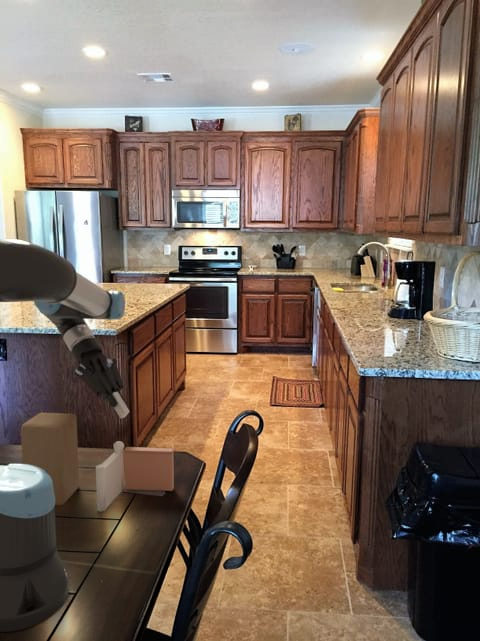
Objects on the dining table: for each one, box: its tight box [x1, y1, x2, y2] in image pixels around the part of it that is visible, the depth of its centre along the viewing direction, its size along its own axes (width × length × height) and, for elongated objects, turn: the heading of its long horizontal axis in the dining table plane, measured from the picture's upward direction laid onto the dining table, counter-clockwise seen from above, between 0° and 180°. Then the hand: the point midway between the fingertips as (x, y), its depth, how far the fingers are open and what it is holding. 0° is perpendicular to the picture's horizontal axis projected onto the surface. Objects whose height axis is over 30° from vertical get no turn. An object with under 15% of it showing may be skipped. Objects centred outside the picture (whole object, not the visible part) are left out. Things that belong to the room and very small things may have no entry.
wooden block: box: [20, 412, 80, 506], centre depth 121 cm, size 10×10×20 cm
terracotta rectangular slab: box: [123, 446, 175, 492], centre depth 125 cm, size 12×2×10 cm, turn 87°
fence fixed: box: [95, 440, 125, 512], centre depth 120 cm, size 12×3×13 cm, turn 169°
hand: (125, 415), depth 130 cm, fingers closed
